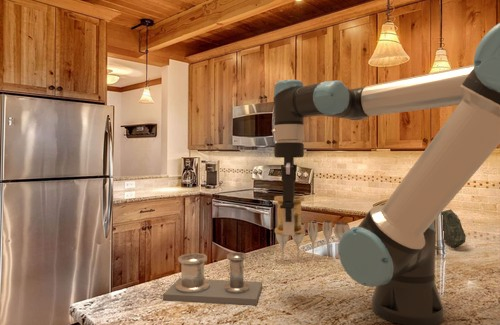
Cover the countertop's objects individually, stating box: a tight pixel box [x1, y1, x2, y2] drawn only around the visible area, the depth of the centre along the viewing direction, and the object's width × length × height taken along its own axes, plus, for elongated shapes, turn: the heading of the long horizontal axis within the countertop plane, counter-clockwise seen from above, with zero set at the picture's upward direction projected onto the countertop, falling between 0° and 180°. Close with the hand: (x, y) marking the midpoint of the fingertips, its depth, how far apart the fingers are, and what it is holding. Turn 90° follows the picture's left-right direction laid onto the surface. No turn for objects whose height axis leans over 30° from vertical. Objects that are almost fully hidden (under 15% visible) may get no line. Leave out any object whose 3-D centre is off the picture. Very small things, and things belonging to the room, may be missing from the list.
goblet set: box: [275, 220, 351, 265], centre depth 124 cm, size 28×6×13 cm, turn 106°
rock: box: [441, 209, 467, 248], centre depth 141 cm, size 18×6×14 cm, turn 162°
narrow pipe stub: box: [225, 251, 249, 294], centre depth 93 cm, size 6×6×9 cm
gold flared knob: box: [274, 195, 305, 235], centre depth 91 cm, size 8×8×9 cm
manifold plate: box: [162, 277, 263, 306], centre depth 94 cm, size 24×12×2 cm, turn 81°
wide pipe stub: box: [176, 252, 210, 293], centre depth 95 cm, size 9×9×8 cm
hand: (289, 231), depth 91 cm, fingers closed on gold flared knob, 8 cm apart
